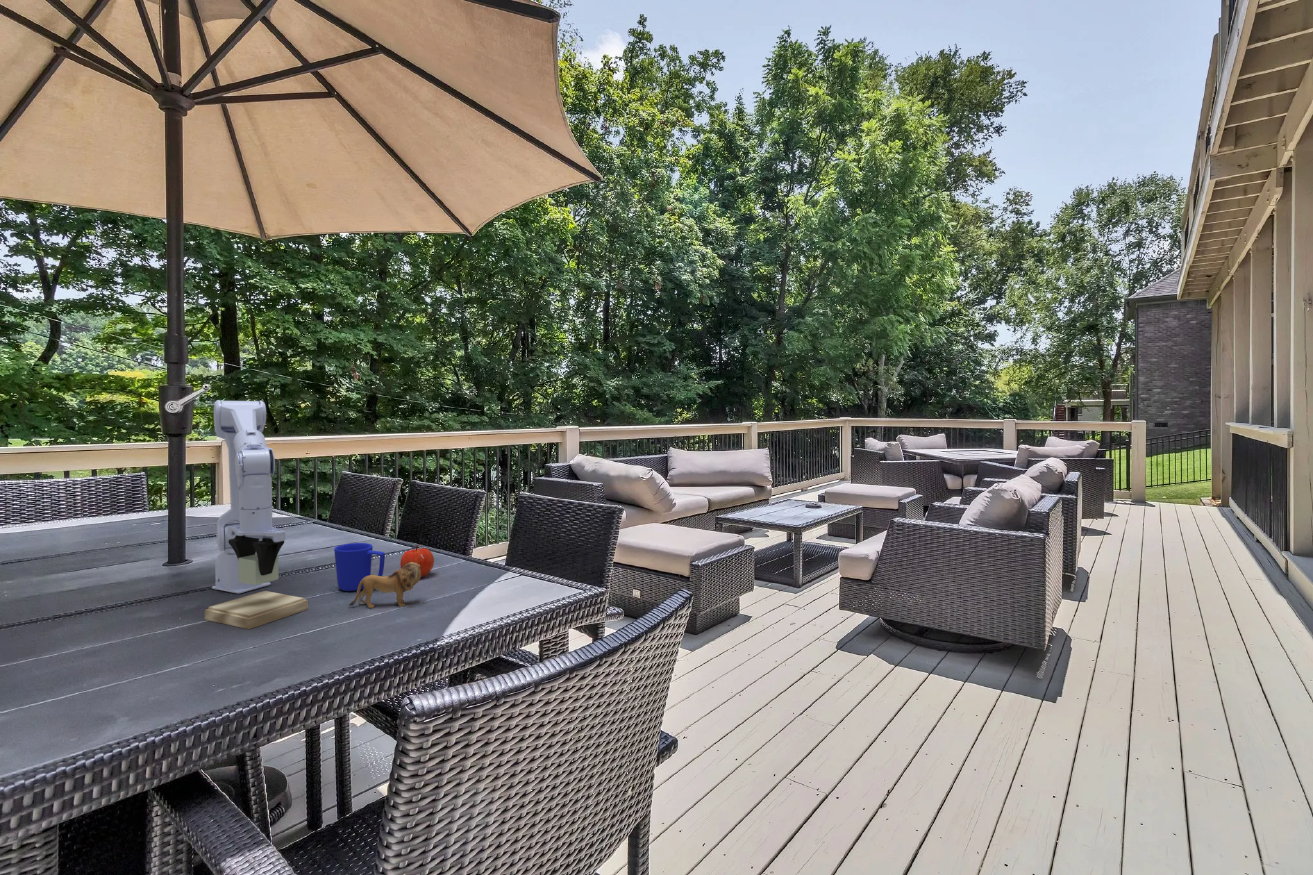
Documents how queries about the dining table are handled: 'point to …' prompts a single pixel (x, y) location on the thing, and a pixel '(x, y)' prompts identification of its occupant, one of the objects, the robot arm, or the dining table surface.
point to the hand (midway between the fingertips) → (257, 572)
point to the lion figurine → (389, 584)
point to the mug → (355, 564)
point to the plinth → (256, 609)
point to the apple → (419, 559)
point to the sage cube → (255, 571)
